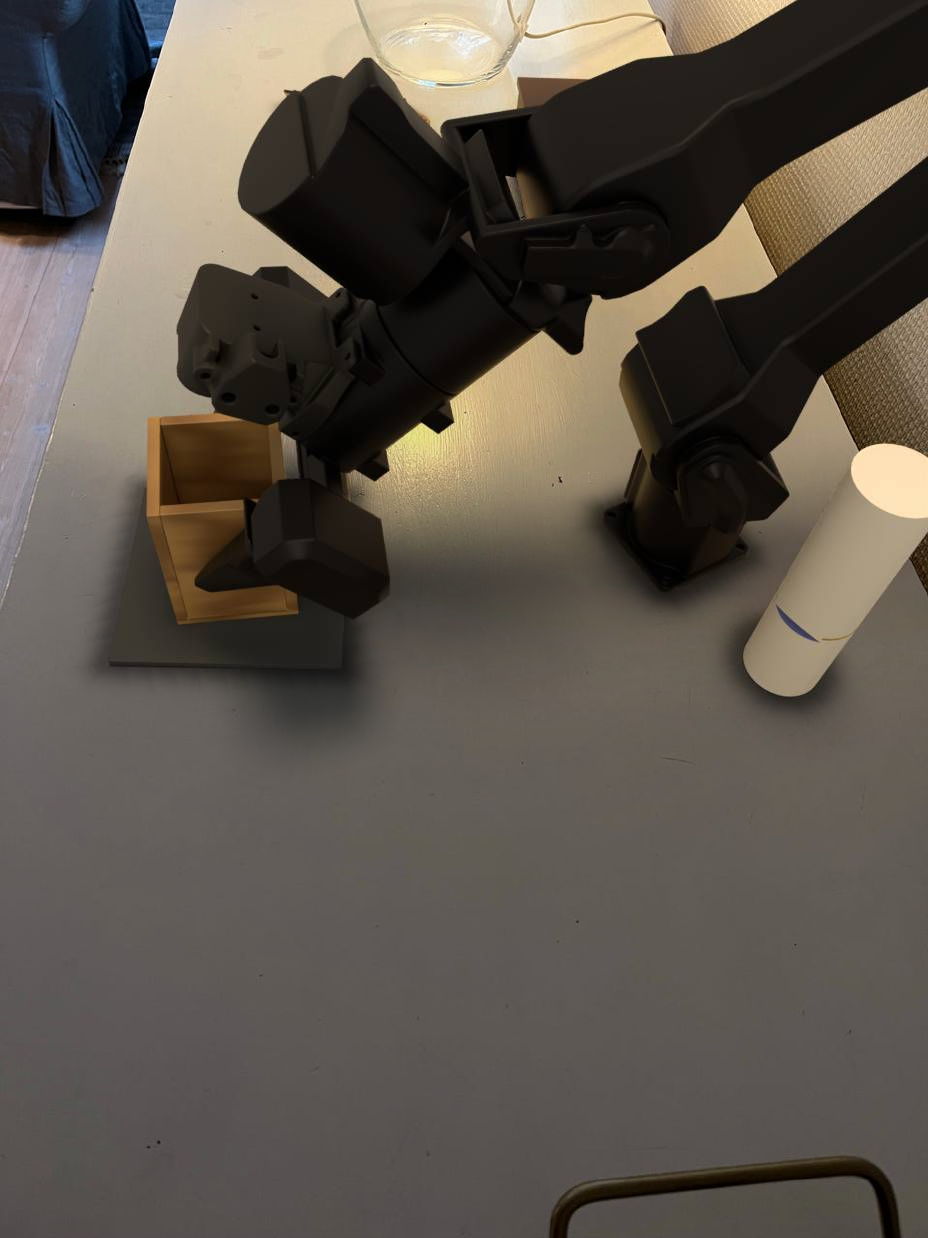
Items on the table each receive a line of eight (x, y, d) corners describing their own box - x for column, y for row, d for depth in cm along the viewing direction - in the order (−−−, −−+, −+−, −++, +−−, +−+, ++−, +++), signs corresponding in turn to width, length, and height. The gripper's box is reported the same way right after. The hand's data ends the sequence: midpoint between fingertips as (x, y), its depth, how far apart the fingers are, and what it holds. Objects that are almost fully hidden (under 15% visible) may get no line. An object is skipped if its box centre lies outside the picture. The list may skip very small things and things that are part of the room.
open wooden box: (290, 523, 57) (278, 409, 50) (298, 614, 54) (287, 505, 46) (177, 532, 56) (147, 416, 49) (177, 625, 53) (146, 516, 45)
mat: (341, 669, 52) (341, 666, 52) (110, 665, 51) (108, 661, 51) (351, 498, 59) (350, 493, 59) (146, 491, 58) (144, 486, 58)
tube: (815, 635, 56) (941, 450, 44) (823, 701, 54) (959, 524, 41) (740, 626, 56) (845, 438, 44) (745, 691, 54) (857, 511, 41)
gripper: (267, 99, 43) (66, 316, 50) (298, 400, 33) (40, 617, 40) (435, 250, 51) (240, 419, 58) (503, 531, 41) (255, 693, 48)
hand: (200, 520), depth 51 cm, fingers open, 8 cm apart
